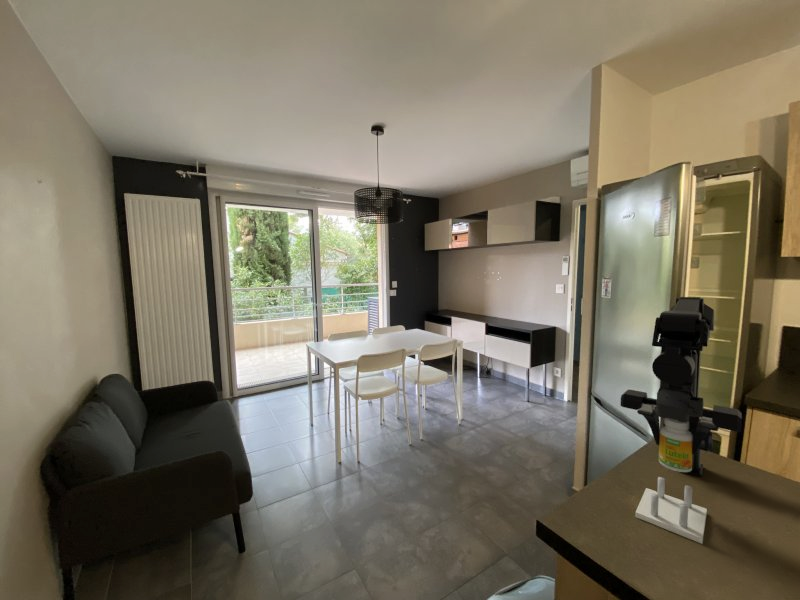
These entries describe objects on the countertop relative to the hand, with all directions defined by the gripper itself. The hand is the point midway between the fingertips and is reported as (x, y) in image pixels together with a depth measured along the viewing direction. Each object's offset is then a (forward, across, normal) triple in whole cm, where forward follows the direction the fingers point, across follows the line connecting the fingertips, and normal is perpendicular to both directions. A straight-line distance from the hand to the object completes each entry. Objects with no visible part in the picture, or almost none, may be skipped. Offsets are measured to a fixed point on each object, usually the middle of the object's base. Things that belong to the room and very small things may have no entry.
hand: (675, 449), depth 70 cm
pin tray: (+12, 0, -3) cm, 13 cm away
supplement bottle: (+4, 0, 0) cm, 4 cm away
